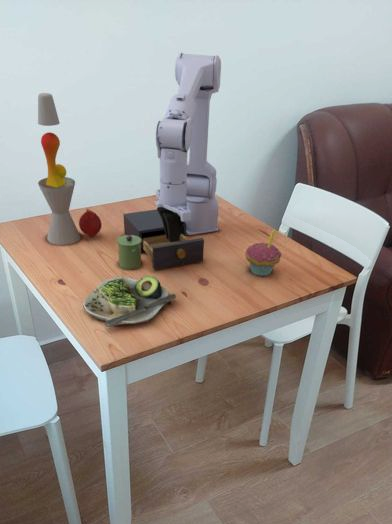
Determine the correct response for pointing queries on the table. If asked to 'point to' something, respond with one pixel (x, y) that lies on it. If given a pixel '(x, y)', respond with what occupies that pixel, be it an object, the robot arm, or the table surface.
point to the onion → (90, 223)
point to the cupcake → (263, 257)
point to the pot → (129, 251)
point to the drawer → (173, 251)
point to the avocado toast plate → (127, 300)
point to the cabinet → (145, 224)
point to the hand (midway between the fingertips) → (172, 239)
